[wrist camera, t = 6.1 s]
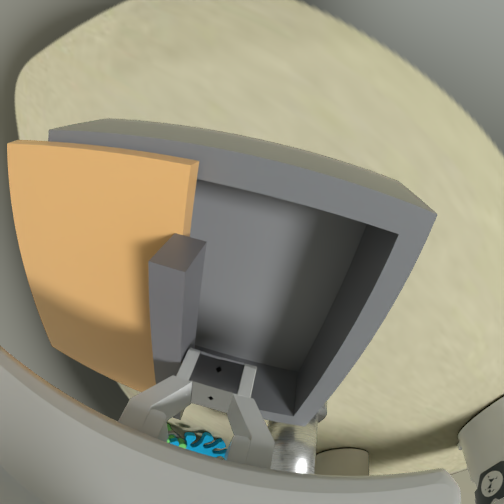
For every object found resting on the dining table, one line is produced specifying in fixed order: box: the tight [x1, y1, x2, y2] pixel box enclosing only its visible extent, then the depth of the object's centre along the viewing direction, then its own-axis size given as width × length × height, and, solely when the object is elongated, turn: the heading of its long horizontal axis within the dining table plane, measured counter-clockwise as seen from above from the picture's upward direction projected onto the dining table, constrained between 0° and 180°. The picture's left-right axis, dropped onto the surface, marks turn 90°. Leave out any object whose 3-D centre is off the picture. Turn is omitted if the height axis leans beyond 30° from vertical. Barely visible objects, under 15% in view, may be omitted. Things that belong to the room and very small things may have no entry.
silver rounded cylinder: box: [268, 401, 327, 474], centre depth 20 cm, size 6×6×8 cm
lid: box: [7, 140, 207, 420], centre depth 12 cm, size 12×15×3 cm
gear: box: [167, 424, 227, 458], centre depth 30 cm, size 11×6×10 cm
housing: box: [48, 119, 437, 427], centre depth 15 cm, size 17×16×5 cm
